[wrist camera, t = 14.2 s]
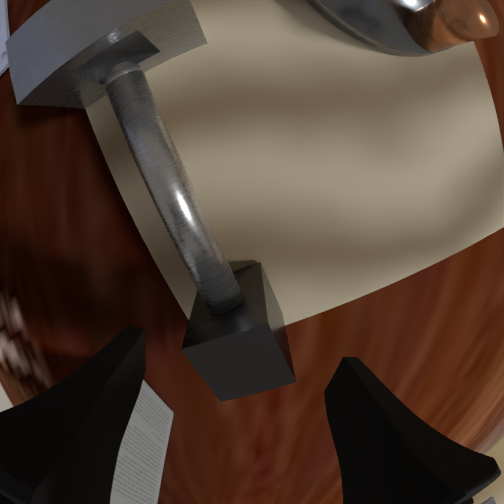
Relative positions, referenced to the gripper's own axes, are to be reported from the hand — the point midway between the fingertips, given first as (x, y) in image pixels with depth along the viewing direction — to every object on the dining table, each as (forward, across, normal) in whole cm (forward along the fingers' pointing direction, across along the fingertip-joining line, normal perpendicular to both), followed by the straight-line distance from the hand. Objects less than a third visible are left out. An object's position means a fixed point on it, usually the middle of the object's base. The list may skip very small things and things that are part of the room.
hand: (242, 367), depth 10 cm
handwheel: (+4, -3, -17) cm, 18 cm away
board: (+6, -2, -10) cm, 12 cm away
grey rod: (+4, +3, -4) cm, 6 cm away
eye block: (+6, +7, -11) cm, 14 cm away
